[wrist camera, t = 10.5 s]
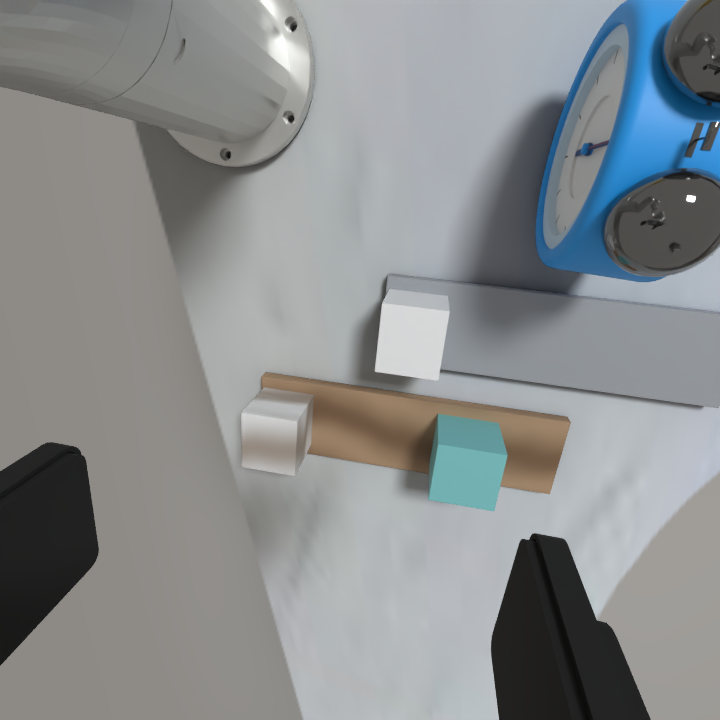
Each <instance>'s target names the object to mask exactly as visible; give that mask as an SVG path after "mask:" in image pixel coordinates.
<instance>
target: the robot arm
mask: <svg viewBox="0 0 720 720" xmlns="http://www.w3.org/2000/svg"><path fill="white" fill-rule="evenodd" d="M294 25H297V29H296V30H295V31H294V32H292V27H293V26H294ZM314 80H315V68H314V54H313V49H312V44H311V39H310V35H309V32H308V30H307V27H306V24H305V22H304V19H303V17H302V15H301V13H300V12H299V10H298V8H297V6H296V5H295V3H294V1H293V0H0V86H1V87H5V88H9V89H13V90H18V91H22V92H26V93H30V94H35V95H39V96H42V97H46V98H51V99H54V100H57V101H61V102H65V103H69V104H73V105H76V106H80V107H85V108H89V109H92V110H96V111H100V112H104V113H108V114H112V115H116V116H119V117H123V118H127V119H131V120H135V121H139V122H142V123H146V124H150V125H154V126H158V127H162V128H165V129H166V130H167V132H168V133H169V134H170V135H171V136H172V137H173V138H174V139H175V140H176V142H177V143H178V144H179V145H180V146H182V147H183V148H184V149H186V150H187V151H189V152H190V153H191V154H193V155H194V156H196V157H198V158H200V159H203V160H205V161H207V162H210V163H214V164H218V165H221V166H229V167H244V166H251V165H255V164H258V163H261V162H264V161H266V160H268V159H269V158H271V157H273V156H275V155H276V154H278V153H279V152H280V151H281V150H282V149H283V148H285V147H286V146H287V145H288V144H289V143H290V142H291V140H292V139H293V138H294V136H295V135H296V134H297V132H298V131H299V129H300V127H301V125H302V123H303V121H304V119H305V117H306V115H307V113H308V109H309V106H310V103H311V99H312V96H313V88H314ZM291 116H294V122H293V123H290V122H289V118H290V117H291ZM229 152H231V158H230V159H229V158H228V153H229ZM98 550H99V548H98V541H97V534H96V527H95V520H94V513H93V506H92V500H91V493H90V485H89V478H88V471H87V465H86V460H85V457H84V456H82V455H81V452H80V450H79V449H78V448H76V447H74V446H69V445H63V444H58V443H53V442H52V443H46V444H43V445H41V446H40V447H38V448H37V449H35V450H33V451H32V452H31V453H29V454H28V455H26V456H24V457H22V458H21V459H19V460H18V461H16V462H15V463H13V464H11V465H10V466H8V467H7V468H5V469H3V470H2V471H0V665H1V664H2V663H3V662H4V661H5V660H6V659H7V658H8V657H9V656H10V655H11V653H12V652H13V651H14V650H15V649H16V648H17V647H18V646H19V645H20V644H21V643H22V642H23V641H24V640H25V638H26V637H27V636H28V635H29V634H30V633H31V632H32V631H33V629H35V628H36V627H37V625H38V624H39V623H40V622H41V621H42V620H43V619H44V618H45V617H46V616H47V615H48V613H50V611H51V610H52V609H53V608H54V607H55V606H56V605H57V604H58V603H59V602H60V601H61V600H62V599H63V597H64V596H65V595H66V594H67V593H68V592H69V591H70V590H71V589H72V588H73V587H74V585H76V583H77V582H78V581H79V580H80V579H81V578H82V577H83V576H84V575H85V574H86V573H87V572H88V571H89V569H90V568H91V567H92V566H93V564H94V563H95V561H96V559H97V556H98ZM491 656H492V664H493V673H494V681H495V689H496V697H497V705H498V713H499V720H650V717H649V715H648V712H647V710H646V707H645V705H644V703H643V700H642V698H641V695H640V693H639V690H638V688H637V685H636V683H635V681H634V678H633V676H632V673H631V671H630V668H629V666H628V664H627V661H626V659H625V656H624V654H623V652H622V649H621V647H620V644H619V642H618V640H617V637H616V635H615V633H614V632H613V630H612V628H611V627H610V626H609V625H608V624H607V623H604V622H601V621H597V620H596V618H595V615H594V612H593V610H592V607H591V604H590V602H589V599H588V597H587V594H586V591H585V589H584V586H583V584H582V581H581V578H580V576H579V573H578V570H577V568H576V565H575V563H574V560H573V557H572V555H571V552H570V549H569V547H568V544H567V542H566V541H565V540H564V539H562V538H557V537H551V536H546V535H541V534H535V533H534V534H532V535H531V537H530V539H529V540H525V539H522V540H521V541H520V543H519V546H518V550H517V553H516V556H515V560H514V563H513V566H512V570H511V573H510V577H509V580H508V583H507V587H506V590H505V594H504V597H503V600H502V604H501V607H500V610H499V614H498V617H497V621H496V624H495V627H494V631H493V635H492V641H491Z"/></svg>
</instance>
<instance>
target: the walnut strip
mask: <svg viewBox="0 0 720 720" xmlns="http://www.w3.org/2000/svg"><path fill="white" fill-rule="evenodd" d="M438 414H443V415H450V416H457V417H463V418H470V419H476V420H483V421H489V422H496V423H499V426H500V430H501V433H502V437H503V441H504V444H505V448H506V451H507V455H508V456H507V460H506V464H505V468H504V472H503V476H502V481H501V485H500V486H505V487H511V488H517V489H523V490H528V491H534V492H540V493H546V494H550V492H551V488H552V485H553V481H554V478H555V474H556V471H557V468H558V464H559V461H560V457H561V454H562V451H563V447H564V444H565V440H566V437H567V433H568V430H569V427H570V423H571V422H570V421H569V419H568V417H564V416H558V415H551V414H544V413H537V412H531V411H524V410H517V409H511V408H504V407H497V406H490V405H484V404H477V403H470V402H463V401H457V400H450V399H443V398H436V397H430V396H423V395H416V394H409V393H403V392H396V391H389V390H382V389H376V388H369V387H362V386H355V385H349V384H342V383H335V382H328V381H322V380H315V379H308V378H301V377H295V376H288V375H281V374H274V373H268V372H266V373H265V374H264V375H263V376H262V390H261V392H260V393H259V394H258V395H257V396H256V397H255V398H254V399H253V400H252V401H251V403H250V404H249V405H248V406H247V407H246V408H245V409H244V410H243V411H242V412H241V434H242V467H245V468H251V469H256V470H262V471H268V472H273V473H279V474H285V475H290V476H295V475H296V473H297V471H298V469H299V467H300V465H301V463H302V461H303V459H304V457H305V455H306V453H309V454H315V455H321V456H327V457H333V458H339V459H345V460H351V461H357V462H363V463H369V464H374V465H380V466H386V467H392V468H398V469H404V470H410V471H416V472H422V473H428V474H429V463H430V457H431V452H432V446H433V440H434V434H435V428H436V422H437V416H438Z"/></svg>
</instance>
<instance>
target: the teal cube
mask: <svg viewBox="0 0 720 720" xmlns="http://www.w3.org/2000/svg"><path fill="white" fill-rule="evenodd" d="M507 456H508V455H507V451H506V448H505V444H504V441H503V437H502V433H501V430H500V426H499V423H496V422H489V421H483V420H476V419H470V418H463V417H457V416H450V415H443V414H438V416H437V422H436V428H435V434H434V440H433V446H432V452H431V457H430V463H429V500H433V501H438V502H444V503H450V504H455V505H461V506H467V507H472V508H478V509H484V510H489V511H494V509H495V505H496V501H497V497H498V493H499V489H500V485H501V481H502V476H503V472H504V468H505V464H506V460H507Z"/></svg>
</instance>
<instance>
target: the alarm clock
mask: <svg viewBox="0 0 720 720" xmlns="http://www.w3.org/2000/svg"><path fill="white" fill-rule="evenodd" d="M535 238H536V248H537V252H538V255H539V257H540V259H541V261H542V262H543V263H544V264H545V265H546V266H548V267H551V268H555V269H561V270H567V271H574V272H580V273H586V274H593V275H599V276H605V277H611V278H618V279H624V280H630V281H636V282H651V281H656V280H659V279H662V278H664V277H666V276H669V275H675V274H678V273H681V272H684V271H687V270H689V269H691V268H693V267H695V266H697V265H699V264H700V263H702V262H704V261H705V260H706V259H708V258H709V257H710V256H711V255H713V254H714V253H715V252H716V250H717V249H718V248H719V247H720V0H627V1H625V2H624V3H622V4H621V5H620V6H619V7H618V8H617V9H616V10H615V11H614V12H613V13H612V14H611V15H610V17H609V18H608V19H607V20H606V22H605V23H604V24H603V26H602V27H601V29H600V30H599V32H598V34H597V35H596V37H595V39H594V40H593V42H592V44H591V46H590V48H589V50H588V52H587V54H586V56H585V58H584V60H583V62H582V64H581V66H580V68H579V70H578V73H577V75H576V77H575V80H574V82H573V84H572V87H571V89H570V92H569V94H568V97H567V100H566V102H565V105H564V108H563V111H562V113H561V116H560V119H559V122H558V125H557V128H556V132H555V135H554V138H553V141H552V145H551V148H550V152H549V155H548V159H547V163H546V167H545V171H544V176H543V180H542V185H541V190H540V195H539V201H538V208H537V216H536V231H535Z"/></svg>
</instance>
